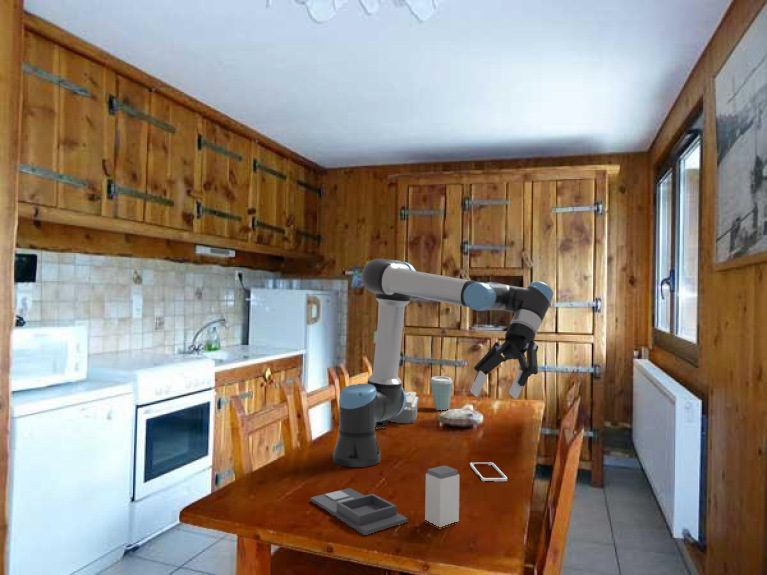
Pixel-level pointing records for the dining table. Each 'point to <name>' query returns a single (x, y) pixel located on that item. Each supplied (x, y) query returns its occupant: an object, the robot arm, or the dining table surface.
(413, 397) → the electrical outlet
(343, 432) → the robot arm
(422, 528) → the dining table surface
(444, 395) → the disposable coffee cup
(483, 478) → the silver rectangular frame
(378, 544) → the dining table surface
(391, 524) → the grey socket base plate
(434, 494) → the plug
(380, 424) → the electrical switch
